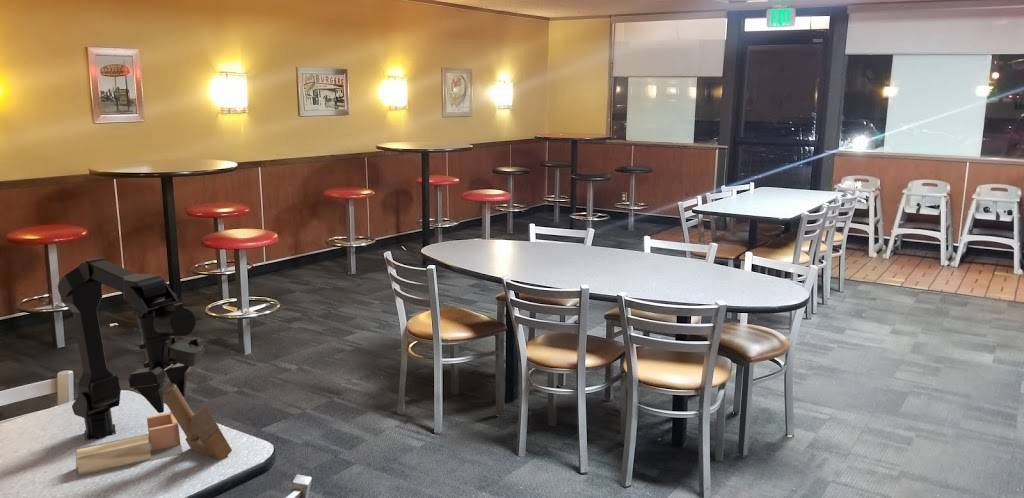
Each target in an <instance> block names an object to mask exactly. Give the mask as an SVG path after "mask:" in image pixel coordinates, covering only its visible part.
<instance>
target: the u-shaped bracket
mask: <svg viewBox="0 0 1024 498" xmlns="http://www.w3.org/2000/svg"><path fill="white" fill-rule="evenodd" d="M146 424H147V432H148V434H149V439H150V440H151V448H152V451H153V450H158V449H162V448H167V447H171V446H176V445H180V444H181V436H180V428H179V427H180V426H179V424H178V422H177V420H176V419H175V417H174V416H173V414H172V412H171V411H170V412H166V413H159V414H155V415H151V416H147V417H146Z"/></svg>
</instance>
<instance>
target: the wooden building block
mask: <svg viewBox="0 0 1024 498" xmlns="http://www.w3.org/2000/svg"><path fill="white" fill-rule="evenodd" d="M144 435H145V434H144ZM139 436H140V435H139ZM134 437H135V436H134ZM129 438H130V437H129ZM120 440H121V439H120ZM115 441H116V440H115ZM110 442H111V441H110ZM101 444H102V443H101ZM96 445H97V444H96ZM91 446H92V445H91ZM82 448H83V447H82ZM77 449H78V448H77ZM147 459H151V454H150V446H149V439H148V435H145V436H140V437H135V438H130V439H126V440H121V441H116V442H111V443H107V444H102V445H97V446H92V447H88V448H83V449H78V450H77V463H78V470H79V475H80V474H85V473H89V472H94V471H98V470H102V469H107V468H111V467H116V466H120V465H125V464H129V463H134V462H138V461H143V460H147Z"/></svg>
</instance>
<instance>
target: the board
mask: <svg viewBox="0 0 1024 498" xmlns="http://www.w3.org/2000/svg"><path fill="white" fill-rule="evenodd" d="M145 435H148V439H149V433H146V434H141V435H136V436H135V435H134V436H132V437H127V438H121V439H116V440H112V441H106V442H103V443H97V444H92V445H88V446H84V447H79V448H76V452H75V453H76V455H75V456H76V457H75V458H76V461H75V462H76V478H81V477H86V476H89V475H94V474H99V473H103V472H107V471H112V470H117V469H120V468H125V467H129V466H130V467H131V466H134V465H139V464H142V463H147V462H152V461H156V460H161V459H164V458H170V457H174V456H179V455H183V454H184V451H183V449H182V448H183V447H182V445H181V444H182V443H180V445H176V446H171V447H167V448H162V449H158V450H153V451H152V448H151V440H150V439H149V446H150V454H151V459H147V460H143V461H138V462H134V463H129V464H125V465H120V466H116V467H111V468H107V469H102V470H98V471H94V472H89V473H85V474H80V475H79V470H78V463H77V450H78V449H83V448H88V447H92V446H97V445H102V444H107V443H111V442H116V441H121V440H126V439H130V438H135V437H140V436H145Z"/></svg>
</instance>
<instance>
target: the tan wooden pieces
mask: <svg viewBox="0 0 1024 498" xmlns="http://www.w3.org/2000/svg"><path fill="white" fill-rule="evenodd" d="M162 393H163V402H164V403H165V404H166V406H167V408H168V409H169V411H170V412H172V414H173V416H174V417H175V419H176V420H177V422H178V426H179V427H180V428H181V430H182V432H183V434H184V435H185V436H186V438H185V441H186V442H187V445H188V446H189V448H190V449H191V450H194V451H195V452H197V453H201V454H202V455H205V456H207V457H210V458H213V459H215V460H218V461H221V460H222V461H223V460H224V459H226V457H228V456H229V455H230V454H231V453H232V451H233V449H232V448H231V446H230V444H229V442H228V441H227V439H226V437H225V435H224V433H223V432H222V431H221V429H220V427H219V425H218V424H217V422H216V420H215V418H214V417H213V415H212V413H211V411H210V409H209V407H208V406H207V405H206V404H204V405H202V407H201V408H200V409H198V410H197V411H196V412H195V413H194V412H193V411H192V409H191V407H190V406H189V404H188V403H187V401H186V400H185V397H183V396H182V394H181V392H180V391H179V389H178V388H177V386H176V385H175V384H174V383H171V382H170V383H168V384H164V386H163V387H162Z"/></svg>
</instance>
